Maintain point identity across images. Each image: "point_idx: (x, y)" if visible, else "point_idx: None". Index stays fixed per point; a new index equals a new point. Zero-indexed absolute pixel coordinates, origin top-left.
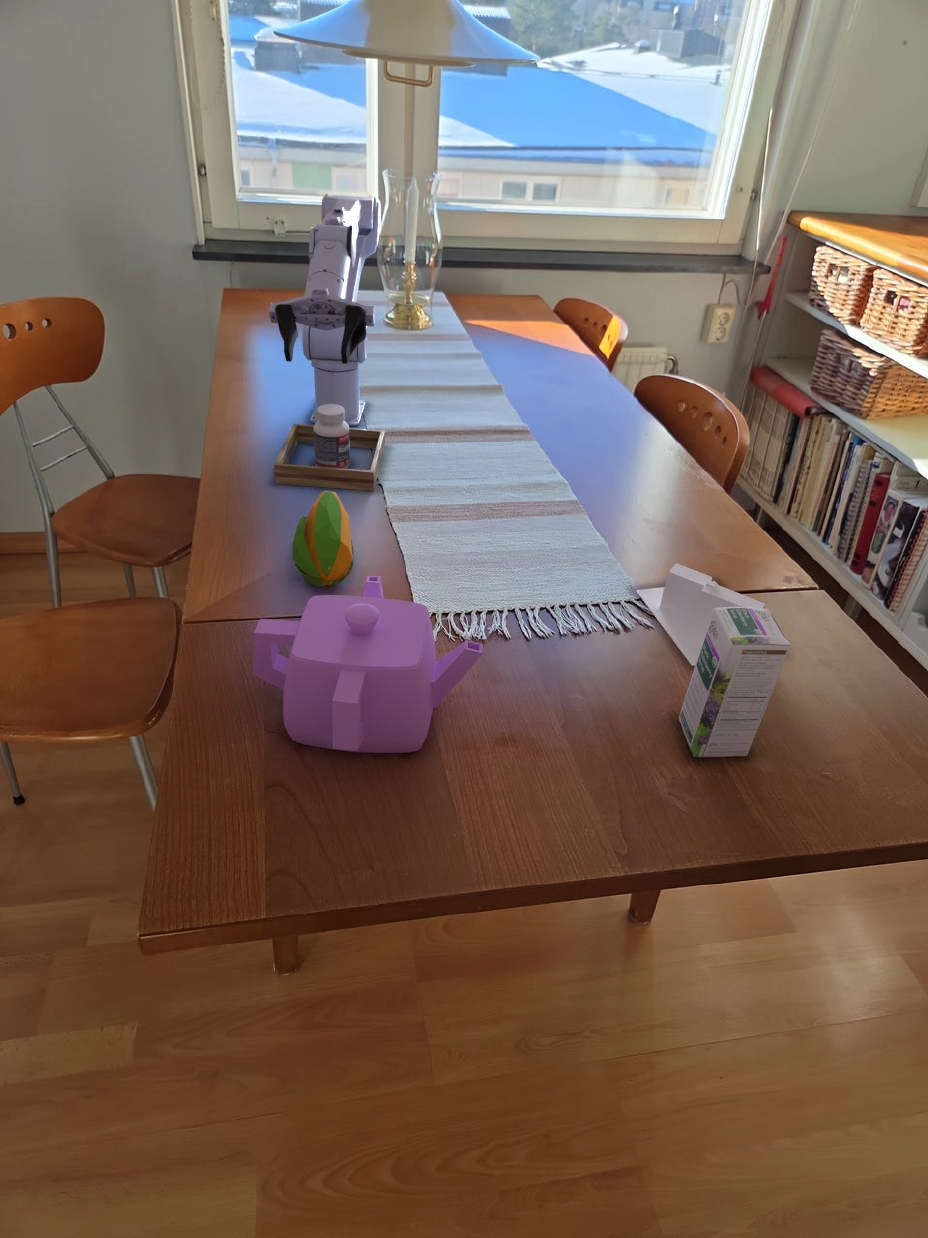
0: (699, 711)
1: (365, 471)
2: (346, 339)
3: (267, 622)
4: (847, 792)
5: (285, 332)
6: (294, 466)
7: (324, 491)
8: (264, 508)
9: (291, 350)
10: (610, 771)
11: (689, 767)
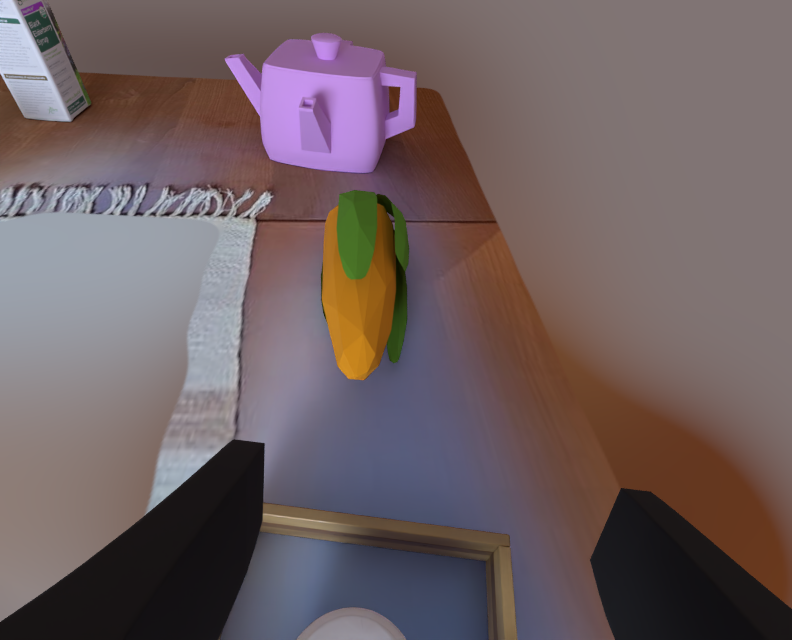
0: (69, 69)
1: None
2: (180, 504)
3: (407, 75)
4: (3, 84)
5: (782, 616)
6: (453, 527)
7: (366, 337)
8: (488, 438)
9: (632, 596)
10: (162, 105)
11: (101, 102)
